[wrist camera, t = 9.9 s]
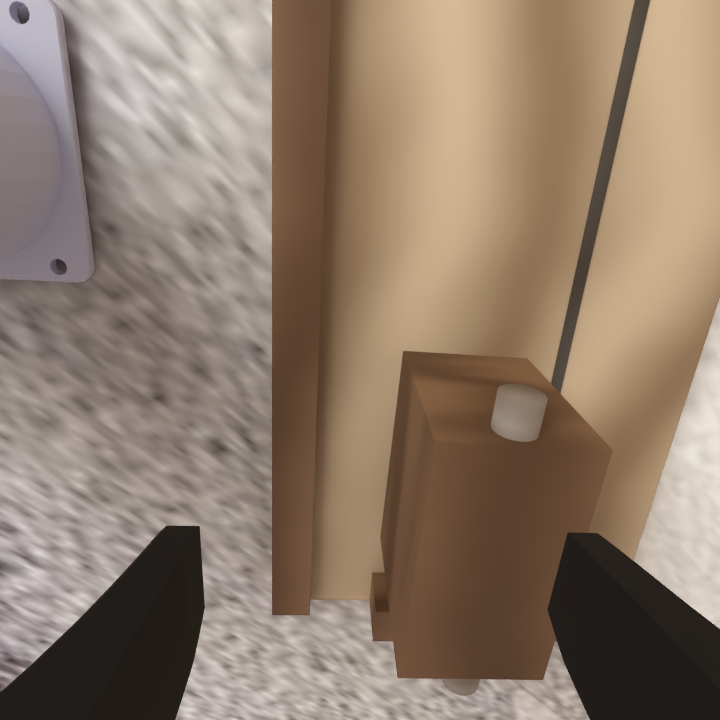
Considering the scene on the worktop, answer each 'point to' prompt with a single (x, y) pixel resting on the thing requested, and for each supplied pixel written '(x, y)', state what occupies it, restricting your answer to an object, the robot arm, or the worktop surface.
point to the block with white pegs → (481, 515)
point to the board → (481, 241)
